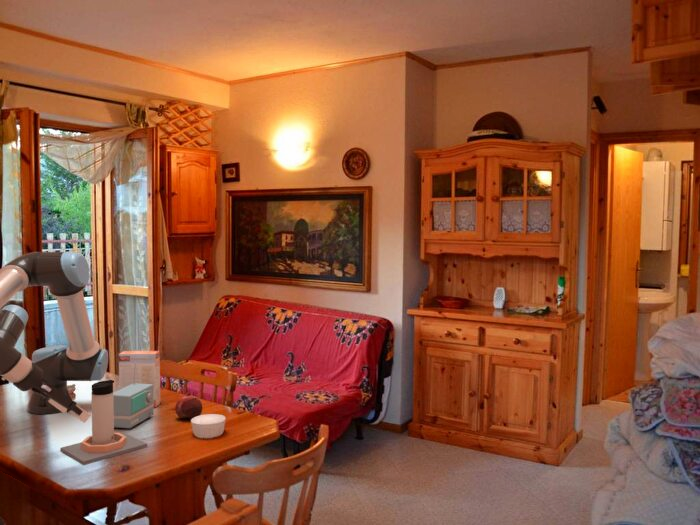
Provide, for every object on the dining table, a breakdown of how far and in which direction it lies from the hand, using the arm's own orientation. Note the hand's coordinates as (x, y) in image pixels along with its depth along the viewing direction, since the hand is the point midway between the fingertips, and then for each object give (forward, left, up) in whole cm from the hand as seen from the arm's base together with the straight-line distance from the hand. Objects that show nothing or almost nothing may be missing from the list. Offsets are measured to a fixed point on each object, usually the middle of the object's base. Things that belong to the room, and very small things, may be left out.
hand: (77, 414), depth 185 cm
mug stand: (0, +8, -13) cm, 15 cm away
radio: (-17, +27, -13) cm, 35 cm away
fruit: (-7, +43, -13) cm, 46 cm away
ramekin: (+12, +38, -13) cm, 42 cm away
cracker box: (-34, +39, -13) cm, 54 cm away
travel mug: (0, +8, -12) cm, 15 cm away
